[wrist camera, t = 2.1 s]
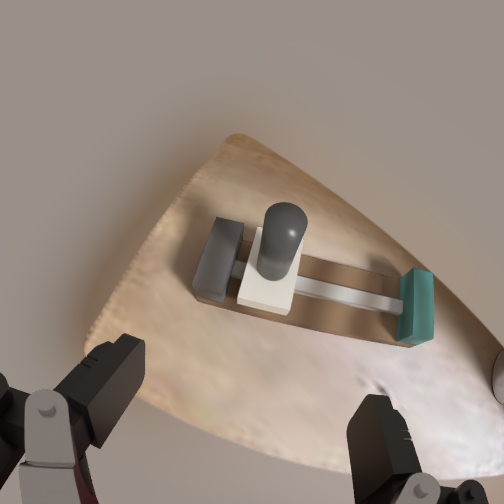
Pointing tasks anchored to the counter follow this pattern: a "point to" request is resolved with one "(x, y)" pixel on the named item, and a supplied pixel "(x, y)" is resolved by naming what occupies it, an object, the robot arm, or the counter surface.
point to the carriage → (274, 260)
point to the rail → (323, 293)
